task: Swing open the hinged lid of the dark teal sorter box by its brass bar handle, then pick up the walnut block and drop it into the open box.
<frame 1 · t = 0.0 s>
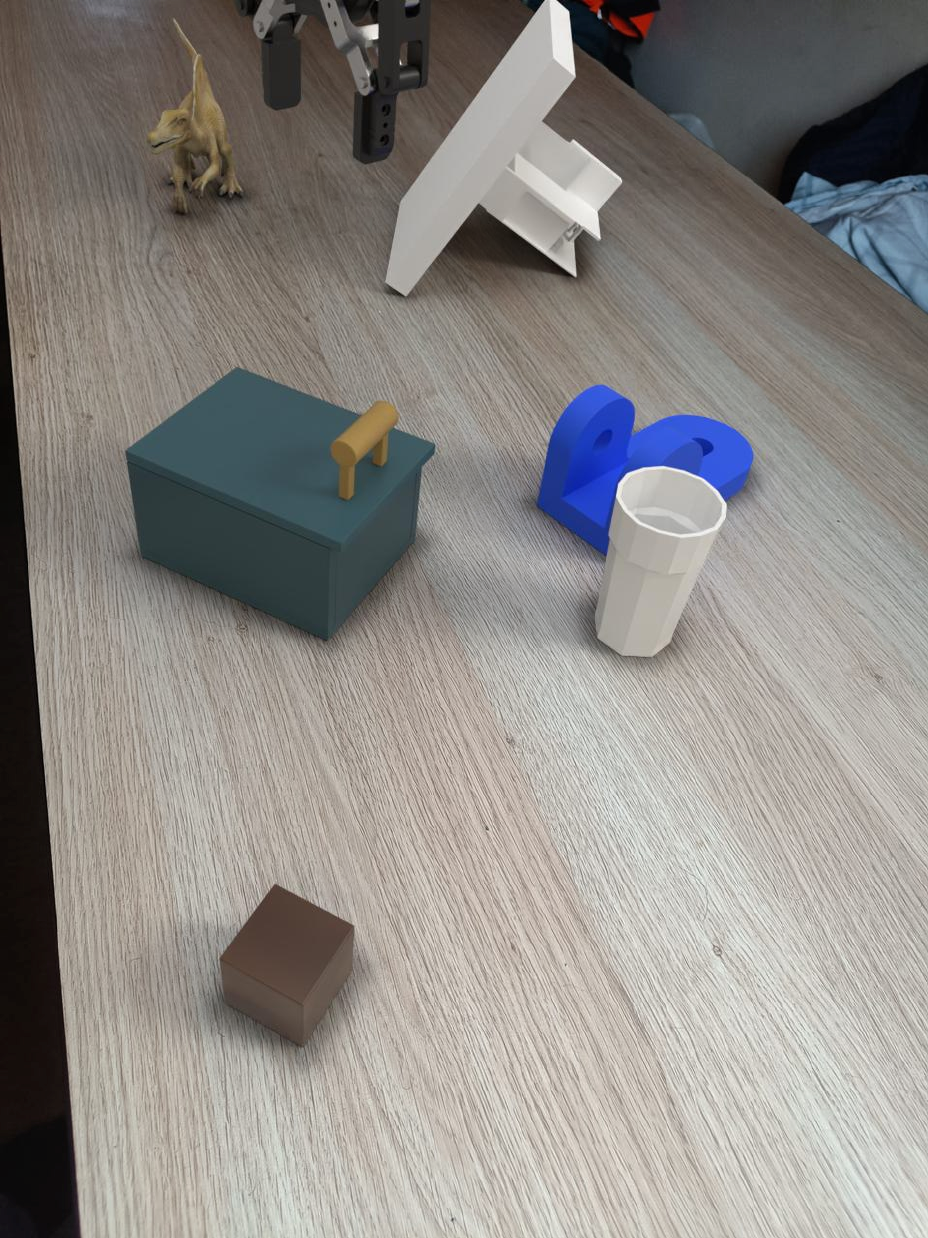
hand: (325, 132, 62), 25 cm above the worktop, tool pointing down, fingers open, 8 cm apart
cup: (631, 631, 71), on the worktop
dinosaur figurine: (206, 190, 111), on the worktop
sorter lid: (284, 423, 66), point 10 cm above the worktop, hinge at 0.0°
bracket: (654, 491, 82), on the worktop
white tilted panel stand: (502, 251, 108), on the worktop
sorter box: (281, 547, 73), on the worktop
block: (289, 986, 51), on the worktop
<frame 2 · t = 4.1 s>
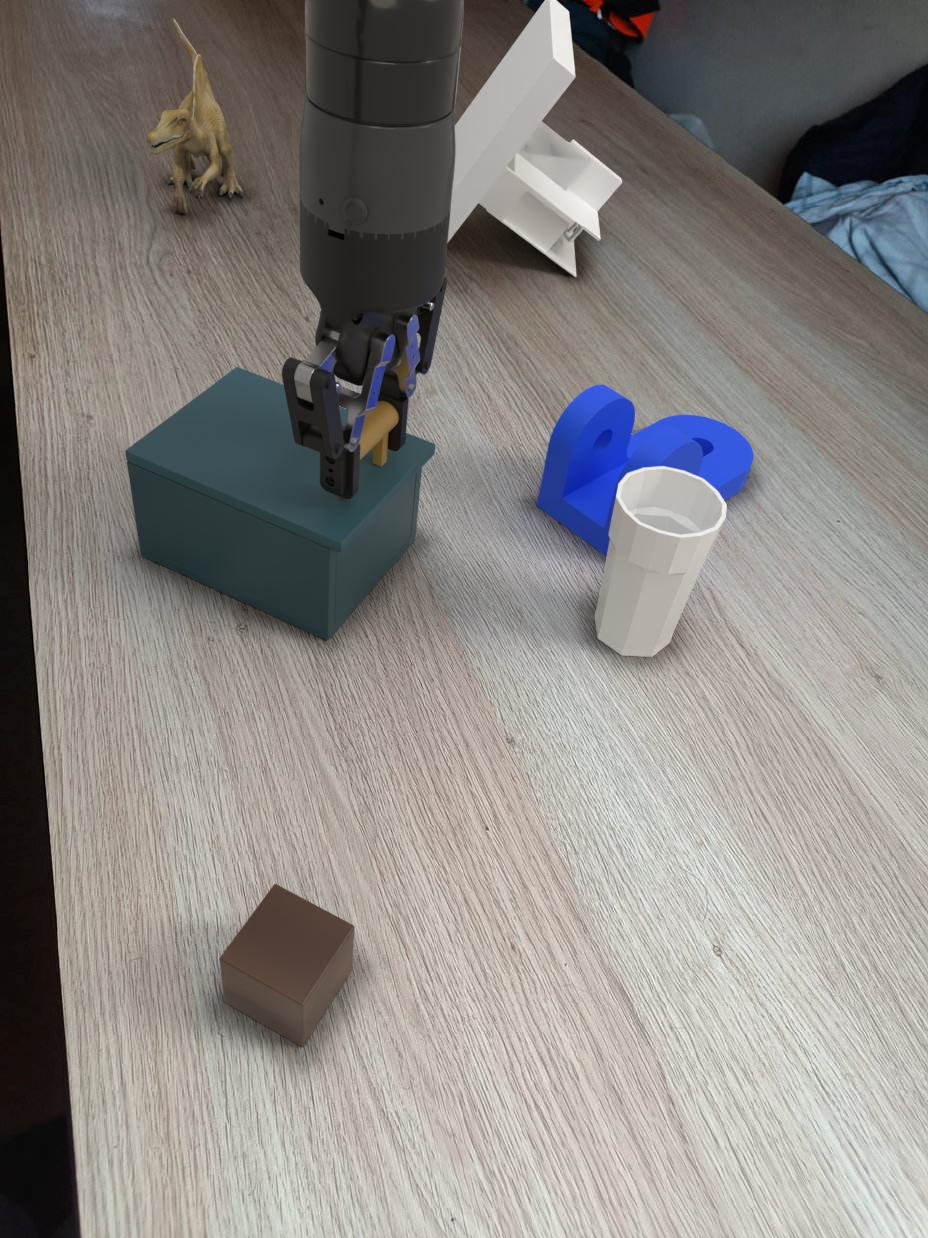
hand: (363, 466, 65), 10 cm above the worktop, tool pointing down, fingers closed on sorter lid, 5 cm apart
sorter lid: (284, 423, 66), point 10 cm above the worktop, hinge at -0.1°, touching gripper
everything else where it was.
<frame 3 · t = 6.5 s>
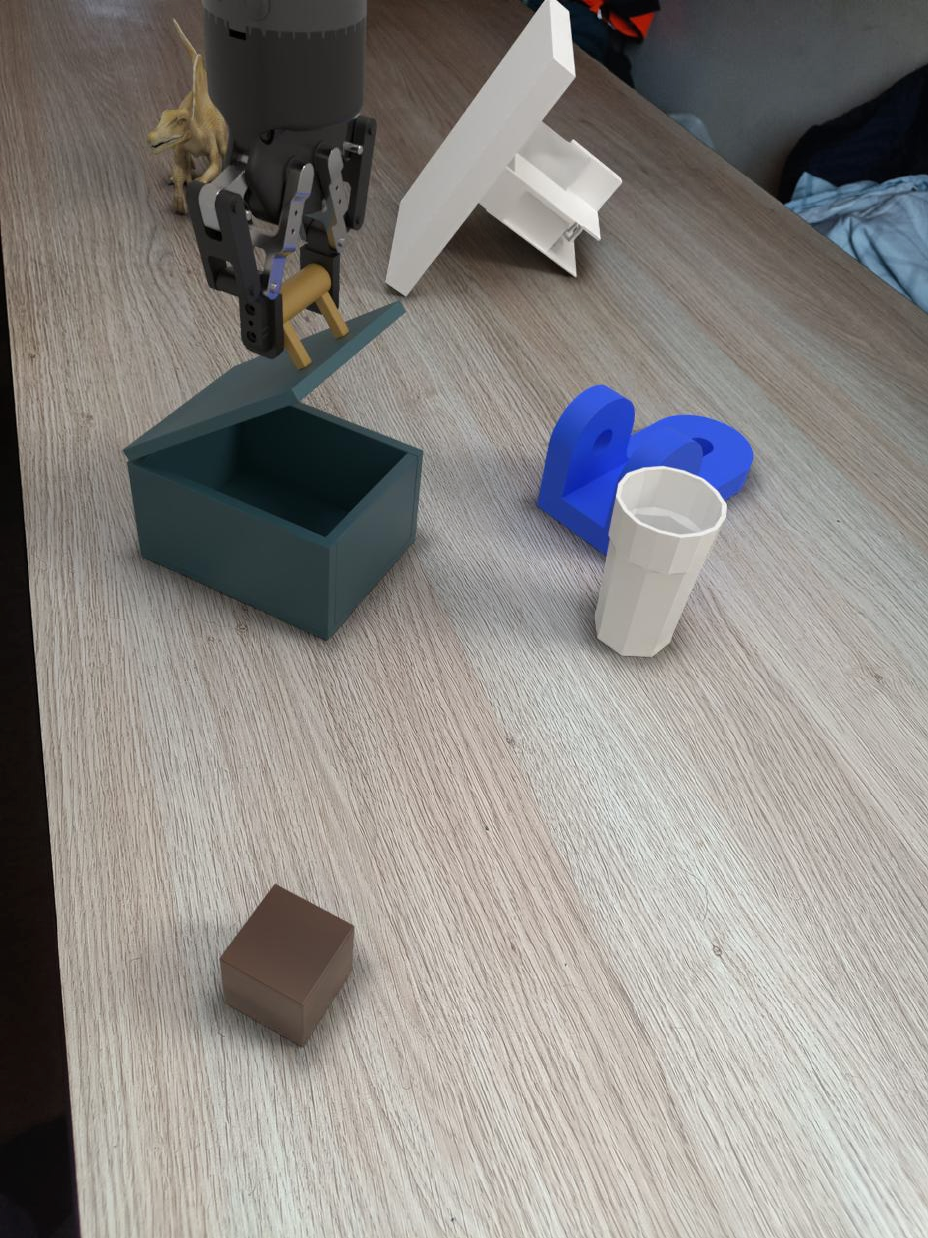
hand: (292, 329, 61), 17 cm above the worktop, tool pointing down, fingers closed on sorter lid, 5 cm apart
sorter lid: (243, 349, 63), point 15 cm above the worktop, hinge at 36.6°, touching gripper
everything else where it was.
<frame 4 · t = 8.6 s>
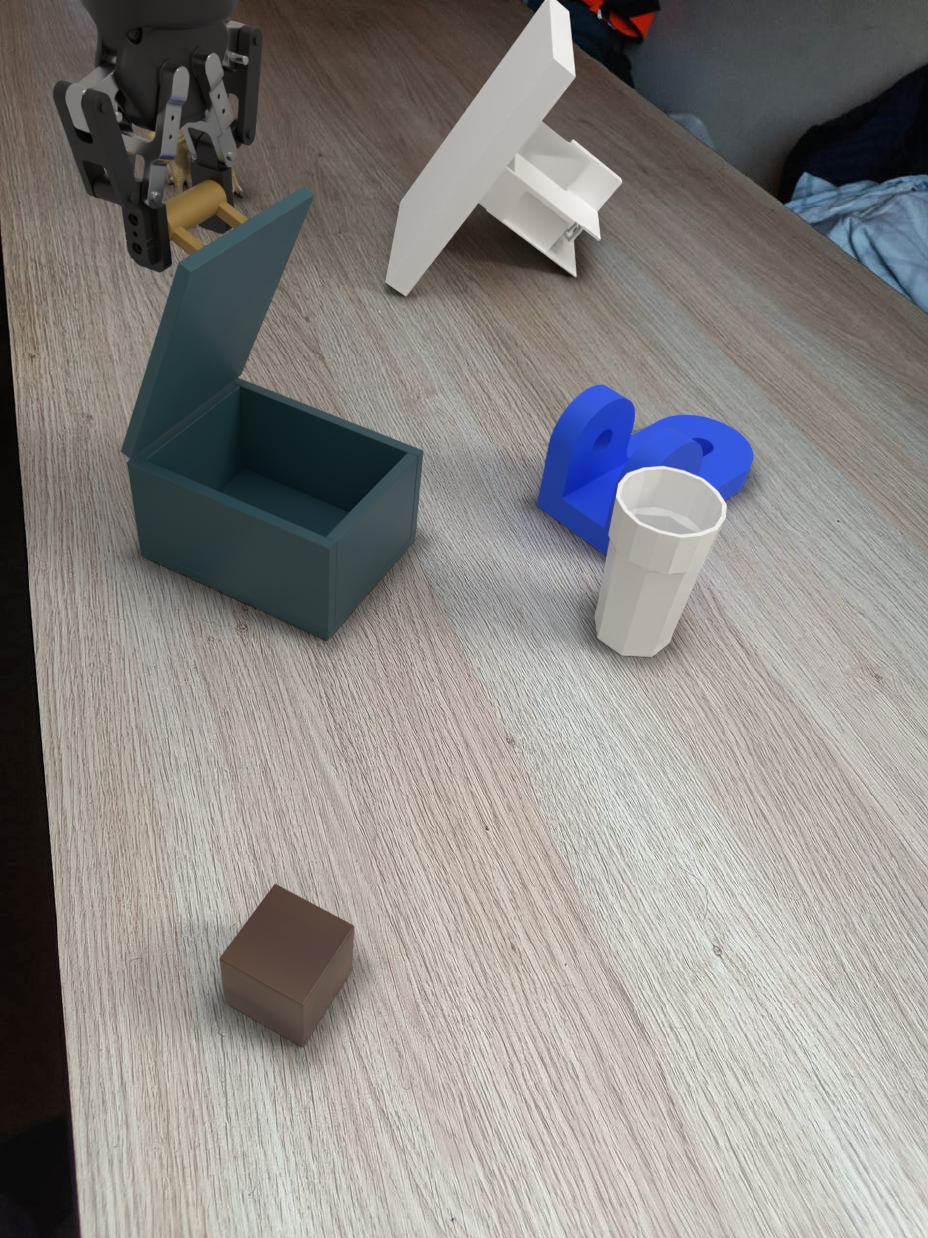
hand: (184, 245, 61), 20 cm above the worktop, tool pointing down, fingers closed on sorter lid, 5 cm apart
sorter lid: (186, 303, 63), point 16 cm above the worktop, hinge at 67.8°, touching gripper
everything else where it was.
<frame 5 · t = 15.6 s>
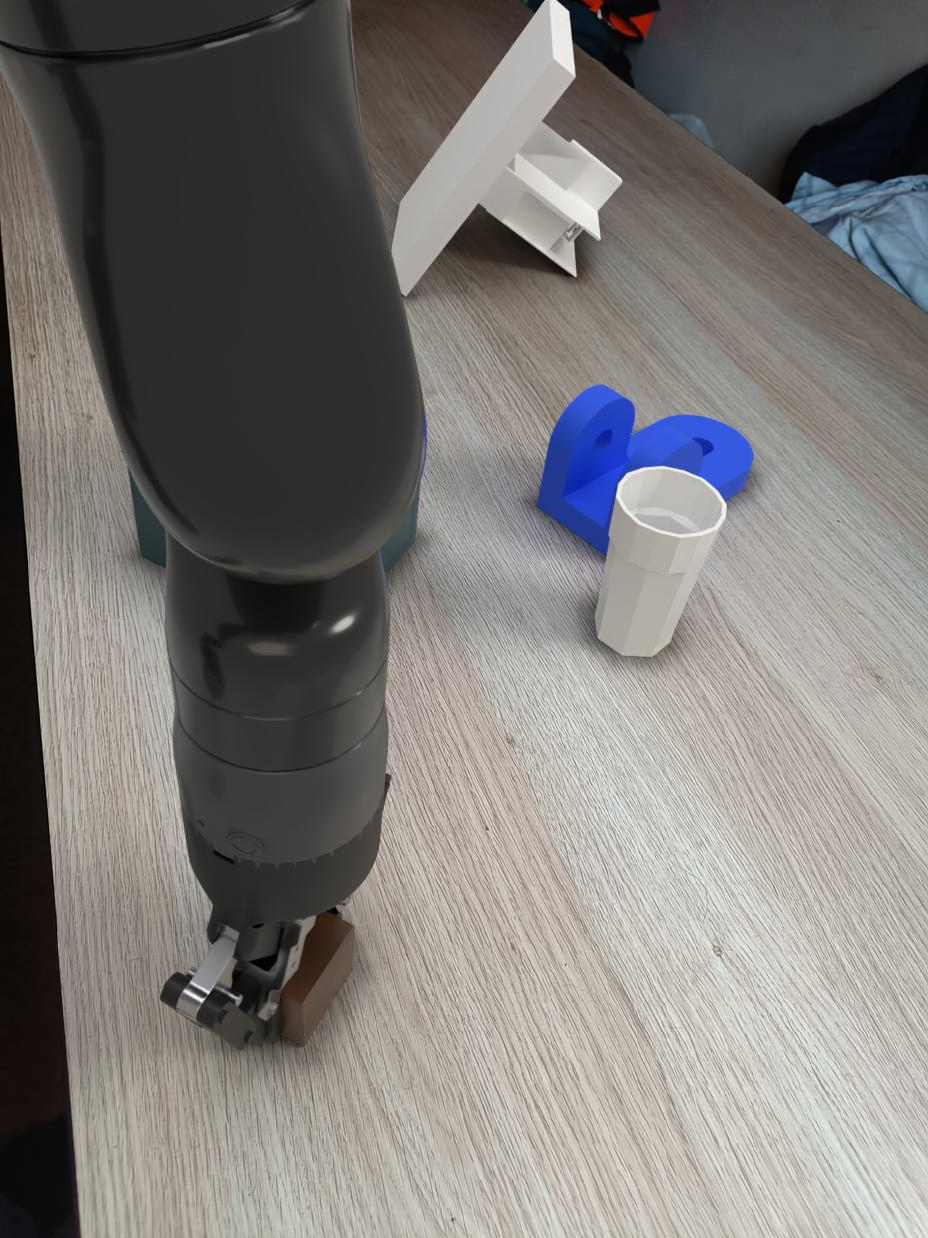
hand: (289, 983, 51), 0 cm above the worktop, tool pointing down, fingers closed on block, 4 cm apart
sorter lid: (185, 303, 63), point 16 cm above the worktop, hinge at 68.2°
block: (289, 986, 51), on the worktop, touching gripper
everything else where it was.
when the fingers open (7 cm above the worktop, at t = 24.5 s): block drops 6 cm, resting on sorter box.
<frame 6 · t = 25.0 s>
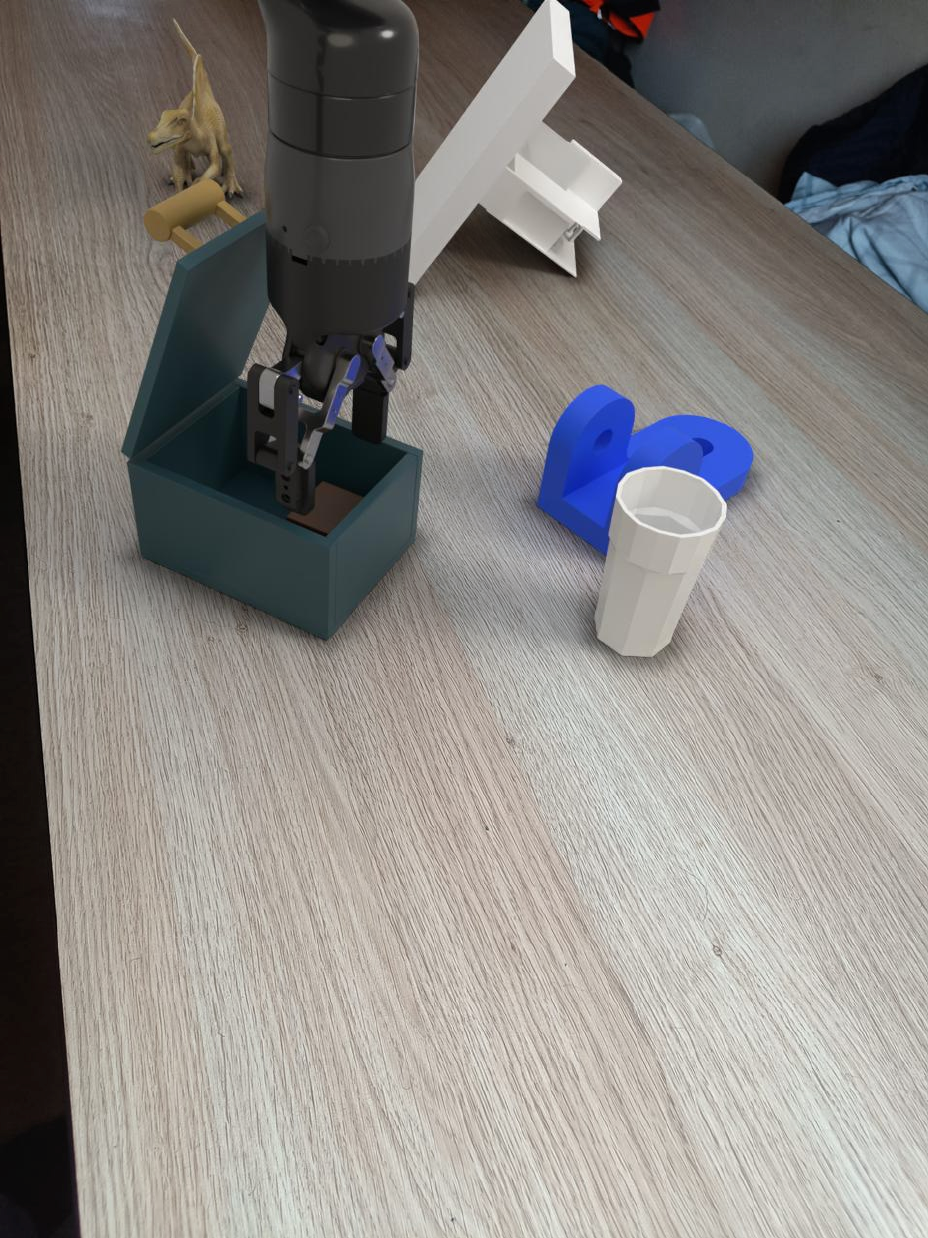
hand: (333, 472, 66), 8 cm above the worktop, tool pointing down, fingers open, 8 cm apart
block: (332, 560, 71), point 1 cm above the worktop, touching sorter box
everything else where it was.
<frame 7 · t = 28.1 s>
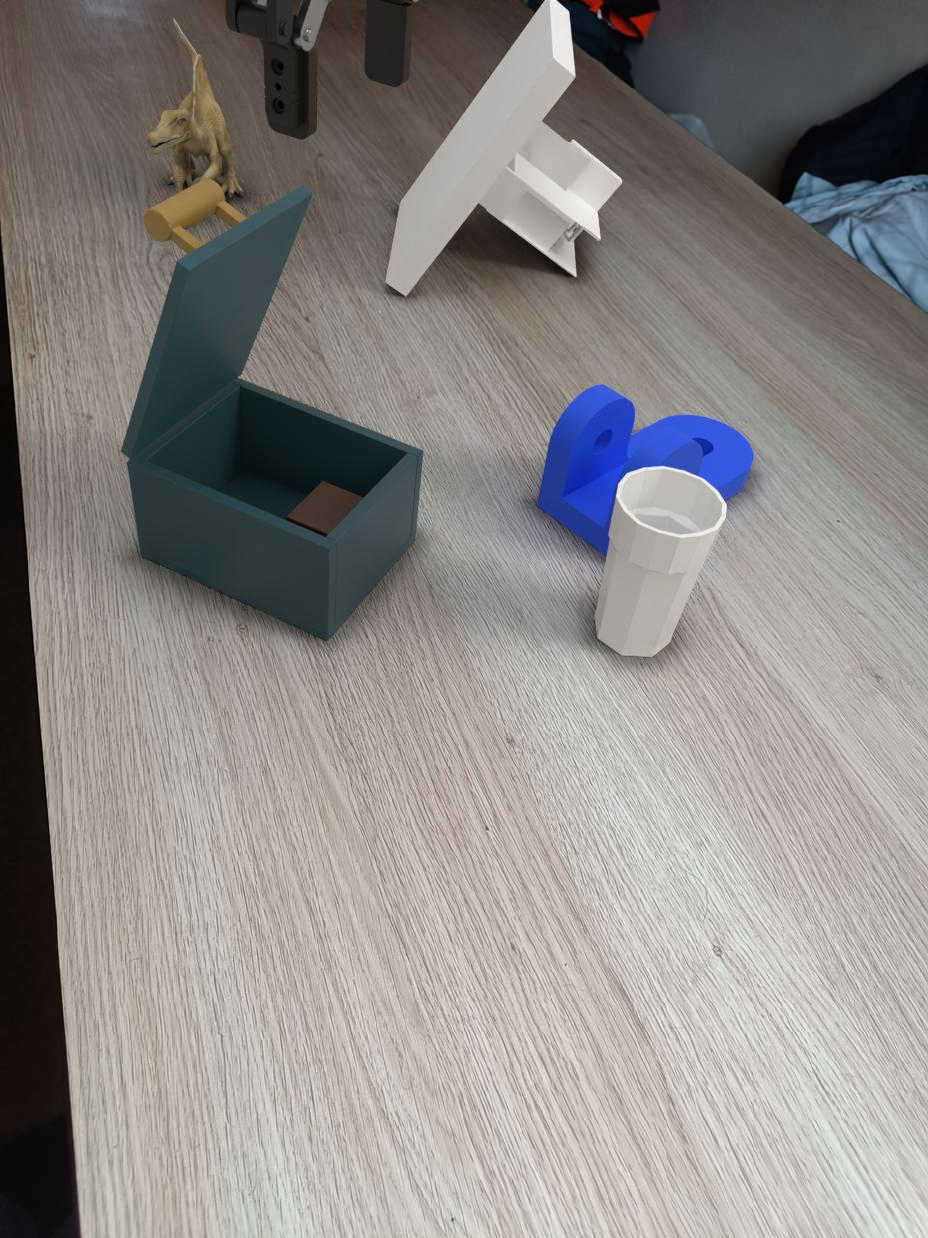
hand: (341, 106, 51), 30 cm above the worktop, tool pointing down, fingers open, 8 cm apart
nothing on the worktop moved.
at the end: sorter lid at +68° (first picture: +0°); block inside the target area in the sorter box (4.1 cm from its centre), point 0.8 cm above the sorter box's base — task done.
